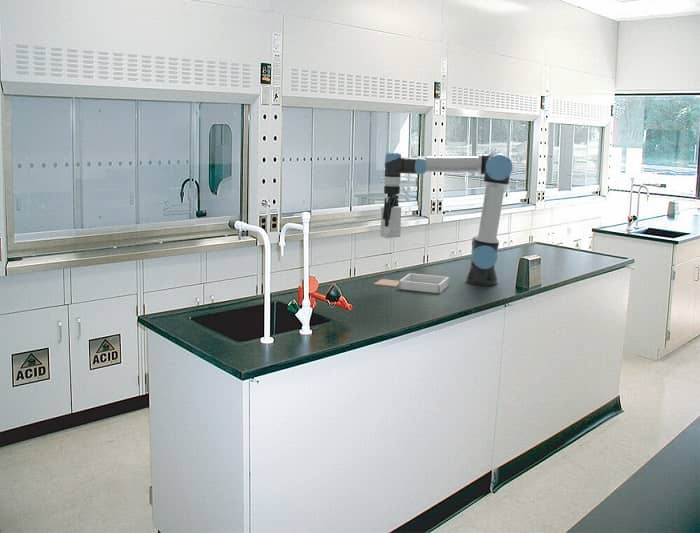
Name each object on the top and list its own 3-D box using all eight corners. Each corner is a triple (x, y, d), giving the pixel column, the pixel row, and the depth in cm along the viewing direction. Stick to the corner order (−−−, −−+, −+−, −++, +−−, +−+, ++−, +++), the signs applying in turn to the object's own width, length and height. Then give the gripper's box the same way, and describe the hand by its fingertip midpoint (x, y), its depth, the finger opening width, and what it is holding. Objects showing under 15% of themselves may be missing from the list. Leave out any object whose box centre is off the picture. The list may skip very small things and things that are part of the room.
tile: (402, 282, 344) (402, 281, 344) (395, 287, 334) (395, 285, 334) (381, 280, 348) (381, 278, 348) (374, 284, 338) (374, 283, 338)
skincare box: (393, 235, 341) (394, 205, 338) (400, 237, 336) (402, 206, 333) (379, 236, 336) (380, 206, 333) (387, 238, 331) (388, 207, 328)
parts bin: (448, 285, 340) (449, 277, 339) (439, 293, 324) (439, 285, 323) (409, 280, 347) (410, 273, 347) (398, 288, 331) (399, 280, 330)
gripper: (392, 183, 342) (390, 227, 347) (376, 186, 322) (375, 234, 327) (406, 184, 340) (404, 228, 344) (392, 187, 319) (390, 235, 324)
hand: (390, 231), depth 336 cm, fingers closed on skincare box, 10 cm apart
